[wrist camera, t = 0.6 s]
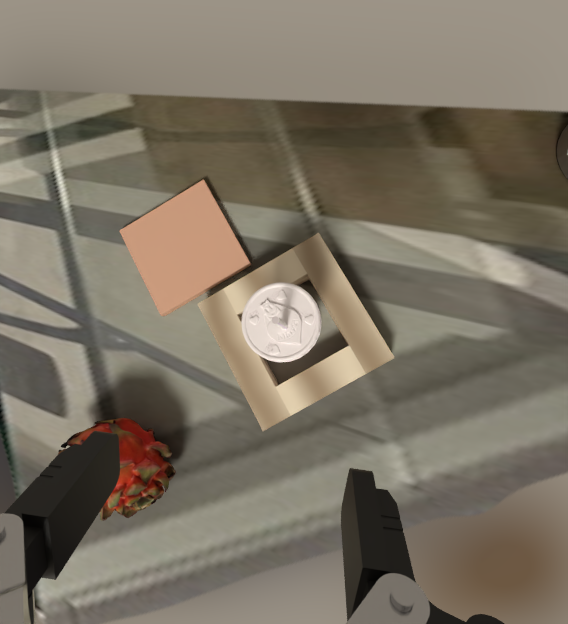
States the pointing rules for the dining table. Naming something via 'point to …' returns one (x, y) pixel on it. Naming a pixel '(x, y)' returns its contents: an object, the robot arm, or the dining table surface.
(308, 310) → the smoothie
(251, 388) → the block
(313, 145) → the dining table surface
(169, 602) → the dining table surface
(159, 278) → the coaster
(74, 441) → the dragon fruit
